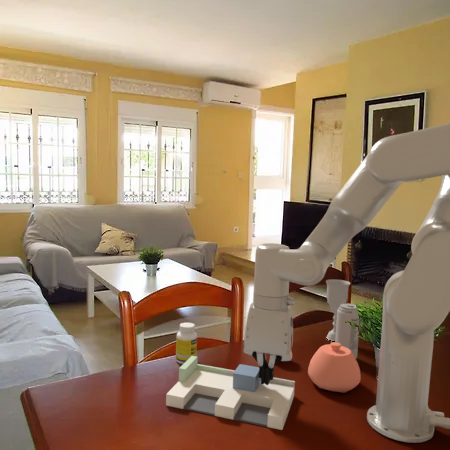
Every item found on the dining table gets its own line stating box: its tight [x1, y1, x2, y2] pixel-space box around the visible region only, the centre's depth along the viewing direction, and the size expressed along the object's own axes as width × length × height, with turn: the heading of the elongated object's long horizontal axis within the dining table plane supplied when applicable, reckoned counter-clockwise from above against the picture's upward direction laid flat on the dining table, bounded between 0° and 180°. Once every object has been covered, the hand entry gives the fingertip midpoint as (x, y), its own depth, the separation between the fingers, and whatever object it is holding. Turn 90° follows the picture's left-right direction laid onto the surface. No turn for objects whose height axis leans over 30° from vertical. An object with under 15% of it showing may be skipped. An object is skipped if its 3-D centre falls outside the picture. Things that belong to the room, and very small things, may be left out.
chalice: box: [325, 279, 351, 342], centre depth 134 cm, size 7×7×18 cm
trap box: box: [165, 355, 296, 431], centre depth 95 cm, size 25×14×6 cm, turn 72°
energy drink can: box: [335, 302, 361, 360], centre depth 119 cm, size 6×6×15 cm
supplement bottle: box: [175, 322, 198, 365], centre depth 115 cm, size 5×5×10 cm
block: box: [233, 363, 260, 392], centre depth 97 cm, size 5×5×4 cm
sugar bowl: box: [307, 341, 362, 394], centre depth 105 cm, size 12×14×10 cm
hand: (265, 381), depth 96 cm, fingers closed
